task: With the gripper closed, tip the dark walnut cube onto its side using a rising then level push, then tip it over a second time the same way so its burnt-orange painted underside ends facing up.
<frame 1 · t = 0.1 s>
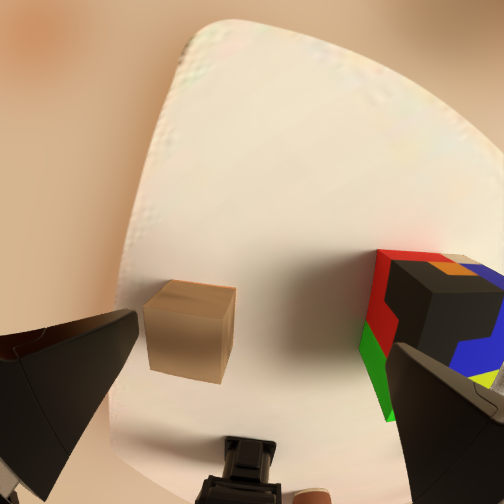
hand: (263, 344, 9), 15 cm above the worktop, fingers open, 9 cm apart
puzzle toy: (413, 302, 23), on the worktop
coffee cup: (311, 494, 33), on the worktop
walnut cube: (202, 313, 25), on the worktop
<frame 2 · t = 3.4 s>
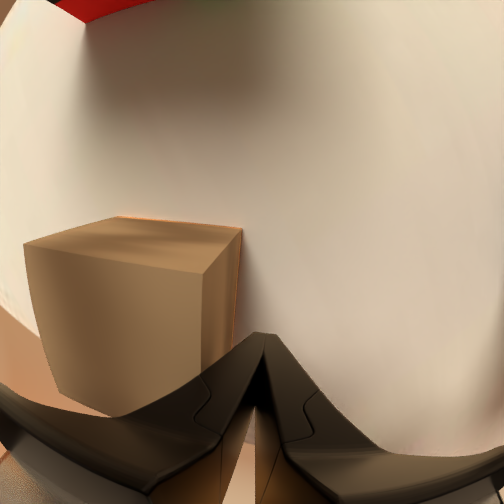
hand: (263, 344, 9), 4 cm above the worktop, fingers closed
walnut cube: (173, 285, 13), on the worktop, touching gripper
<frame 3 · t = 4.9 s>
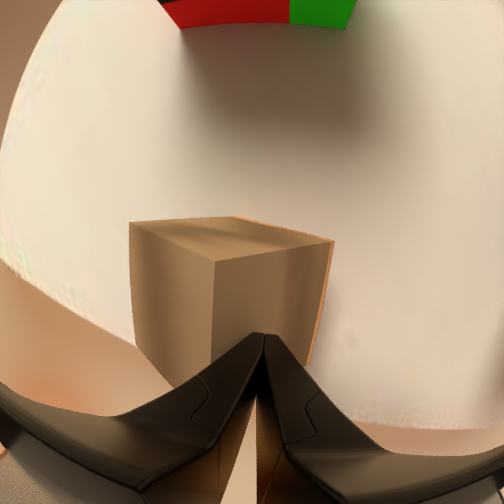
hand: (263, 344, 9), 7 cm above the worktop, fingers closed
walnut cube: (270, 286, 14), point 2 cm above the worktop, tilted 39°, touching gripper
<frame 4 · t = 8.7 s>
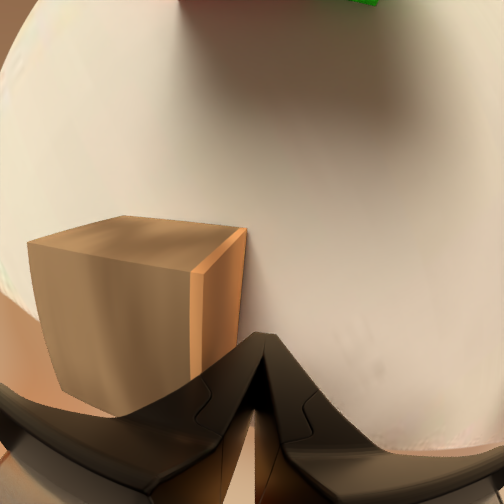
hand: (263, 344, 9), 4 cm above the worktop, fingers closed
walnut cube: (226, 328, 9), point 3 cm above the worktop, tilted 92°, touching gripper
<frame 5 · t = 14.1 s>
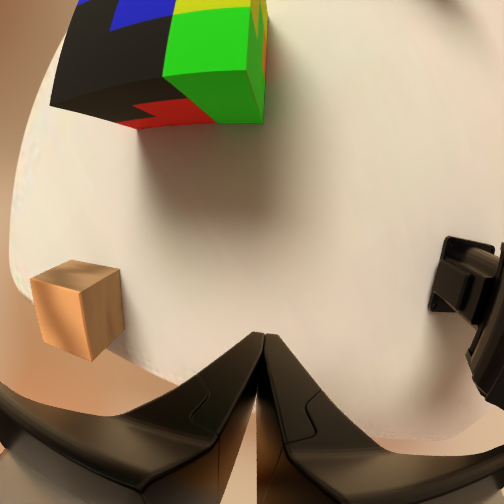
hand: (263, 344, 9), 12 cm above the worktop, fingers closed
puzzle toy: (201, 67, 18), on the worktop
walnut cube: (58, 320, 17), point 6 cm above the worktop, tilted 180°
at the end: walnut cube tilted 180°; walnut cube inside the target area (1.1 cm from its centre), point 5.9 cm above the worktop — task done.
